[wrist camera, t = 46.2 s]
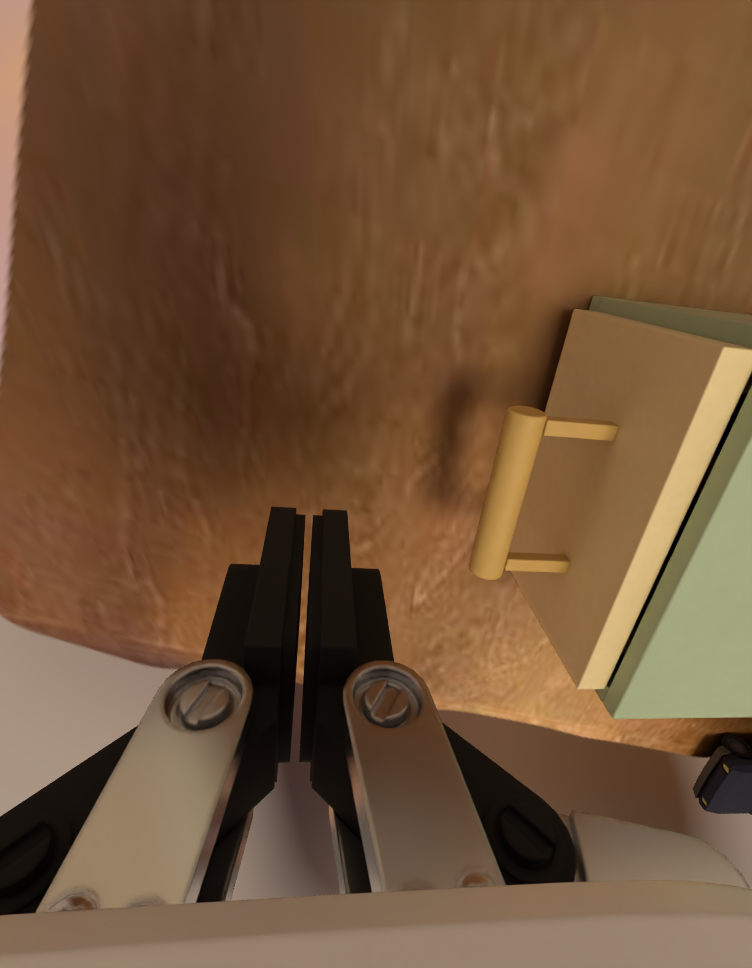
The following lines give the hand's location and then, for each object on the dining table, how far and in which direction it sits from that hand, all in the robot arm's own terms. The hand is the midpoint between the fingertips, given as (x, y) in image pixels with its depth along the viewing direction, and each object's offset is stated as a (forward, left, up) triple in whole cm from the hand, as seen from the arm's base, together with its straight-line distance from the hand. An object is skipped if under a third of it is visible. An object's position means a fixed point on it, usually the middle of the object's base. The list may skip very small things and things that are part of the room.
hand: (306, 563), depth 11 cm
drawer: (+13, +11, -12) cm, 21 cm away
